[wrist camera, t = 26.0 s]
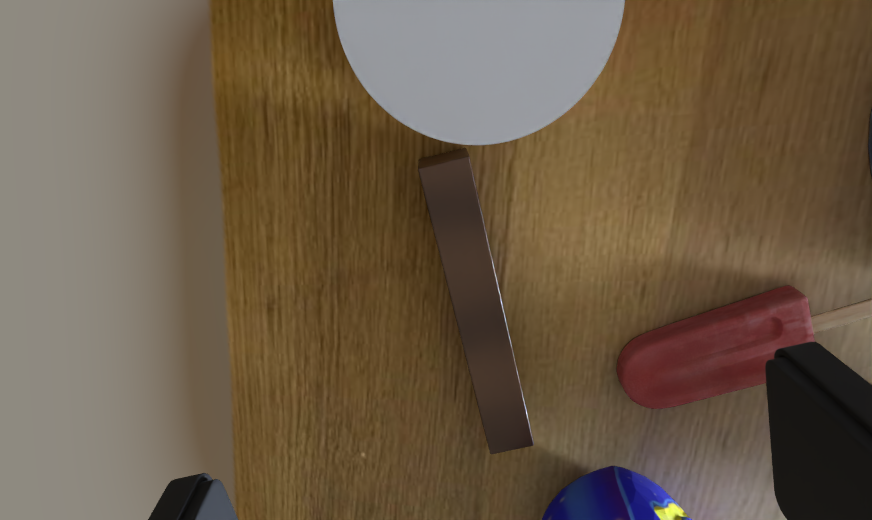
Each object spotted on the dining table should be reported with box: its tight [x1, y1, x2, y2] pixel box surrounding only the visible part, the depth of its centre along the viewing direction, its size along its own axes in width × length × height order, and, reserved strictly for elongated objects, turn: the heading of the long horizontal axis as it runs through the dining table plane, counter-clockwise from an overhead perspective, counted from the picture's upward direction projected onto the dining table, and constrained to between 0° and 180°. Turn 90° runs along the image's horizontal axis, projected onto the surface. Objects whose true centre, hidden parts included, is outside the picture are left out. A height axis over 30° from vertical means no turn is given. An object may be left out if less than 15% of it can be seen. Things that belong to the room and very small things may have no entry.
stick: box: [418, 148, 534, 454], centre depth 33 cm, size 16×2×2 cm, turn 14°
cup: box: [333, 0, 625, 145], centre depth 23 cm, size 8×8×12 cm
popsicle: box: [617, 285, 872, 409], centre depth 34 cm, size 4×2×15 cm
